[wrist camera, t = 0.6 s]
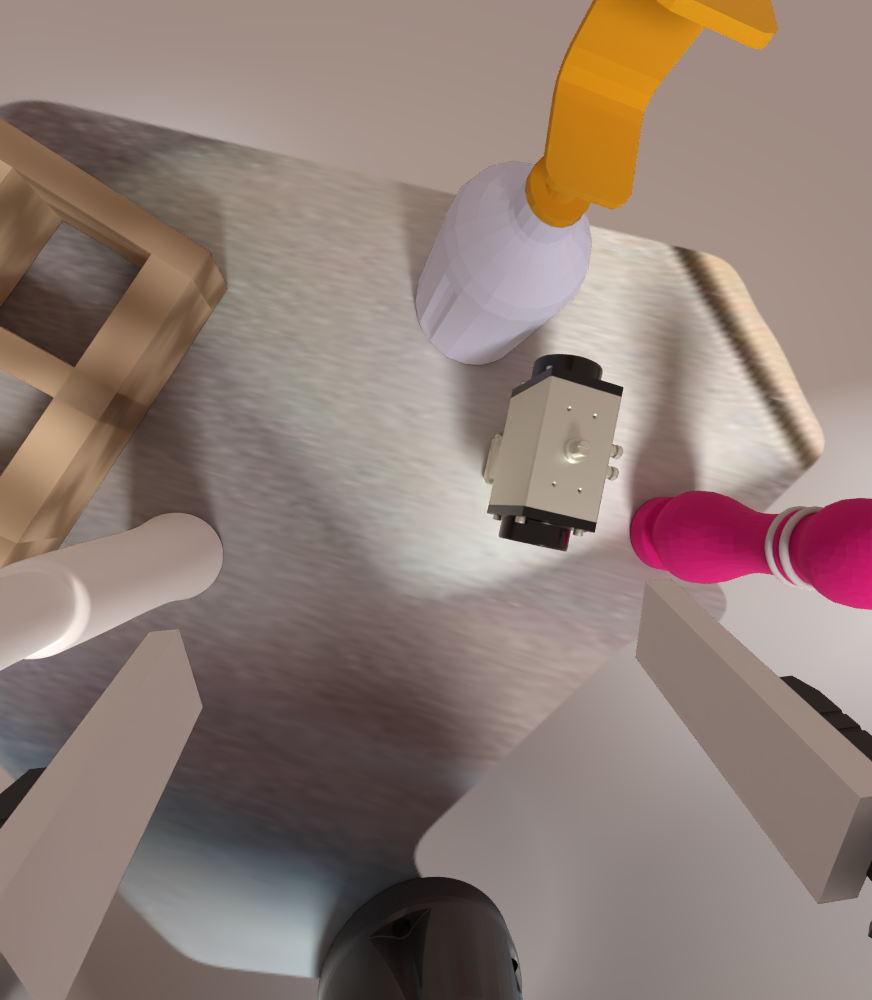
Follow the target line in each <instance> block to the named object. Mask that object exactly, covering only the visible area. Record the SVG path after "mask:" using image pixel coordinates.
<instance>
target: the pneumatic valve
mask: <svg viewBox="0 0 872 1000" xmlns="http://www.w3.org/2000/svg"><path fill="white" fill-rule="evenodd" d="M602 372H603V371H602V368H601V367H600V365H598V364H597V363H596V362H594V361H592V360H589V359H587V358H584V357H580V356H575V355H567V354H552V355H546V356H543V357H540V358H538V359H537V360H536V361H535V363H534V367H533V372H532V377H531V379H530V380H529V381H527V382H522V383H521V385H520V386H519V387H517V388H515V389H513V391H512V396H511V401H510V405H509V410H508V415H507V420H506V425H505V429H504V434H503V436H501V434H497V435H495V437H494V439H491V444H490V449H489V454H488V458H487V463H486V468H485V473H484V477H483V478H484V479H485V483H489V484H493V487H492V492H491V496H490V501H489V506H488V511H487V513H489V514H493V515H494V516H493V519H495V520H500V521H501V519H502V521H501V526H500V531H499V537H500V538H505V539H509V540H514V541H519V542H523V543H528V544H532V545H537V546H542V547H546V548H551V549H556V550H561V551H567V548H568V542H569V537H570V533H571V531H574V532H573V535H577V536H583V532H594V533H595V529H596V524H597V518H598V513H599V508H600V503H601V498H602V493H603V488H604V483H605V479H607V478H608V479H609V480H611V481H613V480H615V479H616V478H617V477H618V474H619V471H618V469H617V468H615V467H610V466H608V463H609V458H610V457H613V458H614V459H619V458H620V457H621V456H622V453H623V448H622V447H621V446H618V445H614V444H612V443H613V438H614V432H615V427H616V422H617V417H618V412H619V407H620V402H621V397H622V392H623V387H621V386H618V385H615V384H611V383H608V382H605V381H602V380H601V378H602ZM493 481H494V482H493Z"/></svg>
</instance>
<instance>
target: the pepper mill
mask: <svg viewBox="0 0 872 1000" xmlns="http://www.w3.org/2000/svg"><path fill="white" fill-rule="evenodd" d="M631 542H632V545H633V548H634V551H635V553H636V554H637V556H638V557H639V558H640V559H641V561H642V562H644V563H645V564H646V565H648V566H650V567H653V568H656V569H661V570H666V571H669V572H670V573H671V574H673V575H674V576H676V577H678V578H680V579H682V580H684V581H688V582H694V583H702V584H711V583H718V582H725V581H729V580H732V579H735V578H738V577H741V576H744V575H748V574H752V573H765V574H771V575H775V577H776V578H777V579H778V580H779V581H781V582H782V583H784V584H786V585H788V586H791V587H796V588H803V589H806V590H813V591H814V590H817V591H818V592H819V593H821V594H822V595H823V596H825V597H826V598H828V599H829V600H831V601H833V602H835V603H839V604H843V605H846V606H850V607H853V608H860V609H870V610H871V609H872V499H865V498H856V499H846V500H841V501H838V502H835V503H833V504H830V505H828V506H826V507H824V508H822V507H802V506H798V507H792V508H788V509H787V510H785V511H783V512H782V513H780V514H765V513H760V512H756V511H754V510H752V509H750V508H748V507H747V506H745V505H743V504H741V503H740V502H738V501H736V500H734V499H732V498H730V497H727V496H724V495H721V494H718V493H715V492H706V491H691V492H686V493H683V494H681V495H678V496H677V497H659V498H655V499H652V500H650V501H648V502H646V503H645V504H644V505H643V506H641V508H640V509H639V510H638V511H637V513H636V514H635V517H634V519H633V522H632V526H631Z"/></svg>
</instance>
